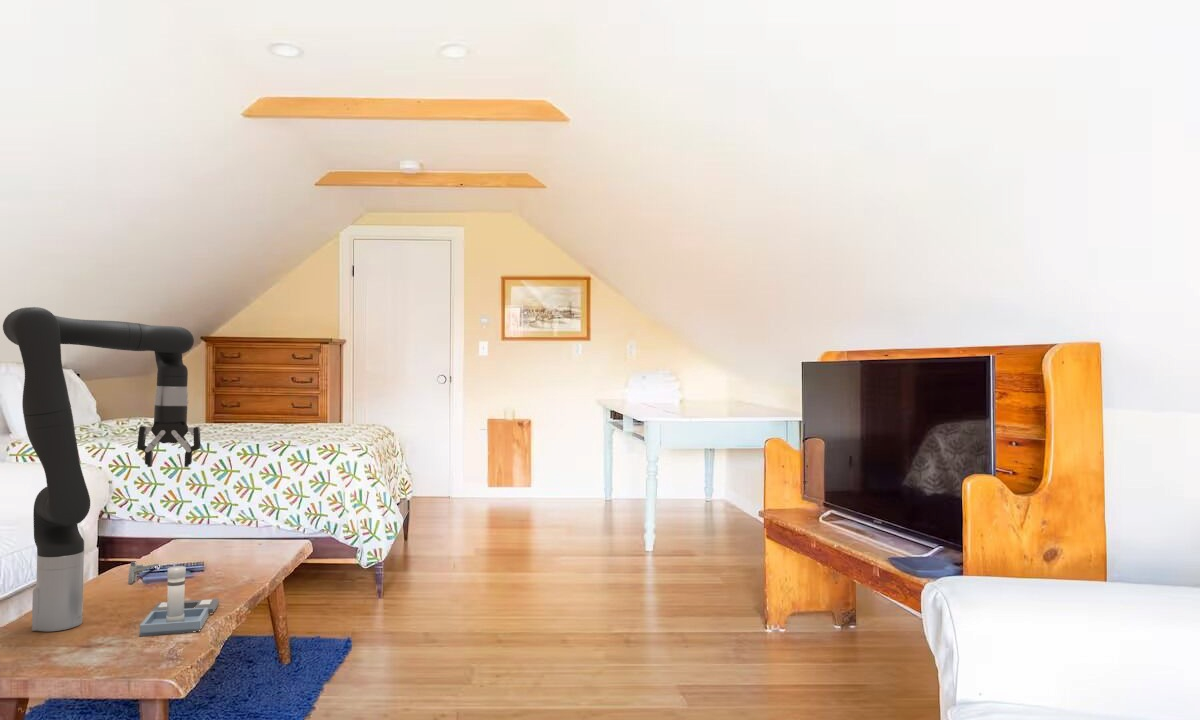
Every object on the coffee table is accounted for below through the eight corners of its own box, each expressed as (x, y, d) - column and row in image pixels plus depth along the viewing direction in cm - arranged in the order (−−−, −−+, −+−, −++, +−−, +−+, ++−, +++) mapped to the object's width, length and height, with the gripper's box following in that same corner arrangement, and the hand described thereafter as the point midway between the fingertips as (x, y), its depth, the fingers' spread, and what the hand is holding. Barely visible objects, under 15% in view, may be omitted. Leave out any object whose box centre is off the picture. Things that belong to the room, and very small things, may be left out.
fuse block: (149, 619, 195) (150, 610, 195) (158, 608, 204) (158, 600, 204) (212, 614, 199) (213, 606, 199) (218, 604, 208) (218, 596, 208)
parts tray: (139, 636, 183) (139, 625, 183) (151, 621, 193) (151, 611, 193) (200, 632, 186) (200, 621, 186) (208, 617, 197) (208, 607, 197)
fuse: (164, 626, 188) (165, 570, 188) (168, 621, 191) (169, 566, 192) (182, 624, 189) (183, 569, 189) (185, 620, 192) (187, 565, 193)
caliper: (132, 585, 225) (133, 563, 225) (128, 585, 224) (128, 563, 224) (160, 567, 245) (160, 546, 245) (156, 567, 245) (156, 546, 245)
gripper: (136, 403, 201) (133, 468, 201) (199, 405, 206) (196, 468, 205) (143, 402, 209) (140, 465, 208) (204, 404, 213) (201, 465, 212)
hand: (168, 466), depth 207 cm, fingers open, 8 cm apart
